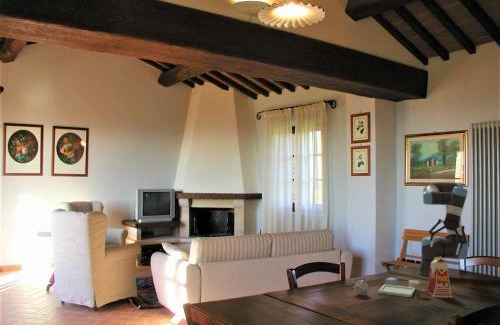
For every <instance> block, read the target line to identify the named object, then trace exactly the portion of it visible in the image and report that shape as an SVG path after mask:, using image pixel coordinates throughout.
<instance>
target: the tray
mask: <svg viewBox="0 0 500 325" xmlns="http://www.w3.org/2000/svg"><path fill="white" fill-rule="evenodd" d="M415 292H416V290H415V288H414V287H409V286H404V285H397V286H396V285H387V284H385V283H384V284H383V285H382V286H381V287H380V288H379V289H378V294H379V295H380V294H381V295H385V296H386V295H387V296H388V295H390V296H394V297H395V296H397V297H404V298H412V297H413V295H414V293H415Z"/></svg>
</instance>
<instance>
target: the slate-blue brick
mask: <svg viewBox="0 0 500 325" xmlns="http://www.w3.org/2000/svg"><path fill="white" fill-rule="evenodd" d="M384 280H385V281H384V284H387V285H396V286H398V278H395V277H387V278H385V279H384Z"/></svg>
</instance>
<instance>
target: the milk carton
mask: <svg viewBox="0 0 500 325" xmlns="http://www.w3.org/2000/svg"><path fill="white" fill-rule="evenodd" d="M441 257H442V256H441ZM441 257H434V258H435V259H434V260H433V261H432V262H431V267H430V273H429V276H428V284H427V285H428V286H427V290H429V295H431V297H433V298H448V297H449V298H453V296H452V289H451V284H450V278H449V271H448V262H447V261H446V260H444V259H443V258H442V259H441Z"/></svg>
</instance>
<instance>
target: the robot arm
mask: <svg viewBox="0 0 500 325" xmlns="http://www.w3.org/2000/svg"><path fill="white" fill-rule="evenodd" d="M422 192H423V193H422V201H423V204H424V205H428V206H429V205H433V206H435V205H437V206H440V205H441V206H445V217H444V220H442V219H441V218H438V220H437V222H436V223H435V224H434V225H433V226H432V227H431V228H430V229H429V230H428V233H429V234H430V236H426V237H425V236H424V237H423V238H422V239H421V244H420V247H421V261H420V264H419V268H418V275H421V276H425V277H429V273H430V267H431V262H432V261H433V260H434V259H435V258H434V257H441V256H442V257H441V259H442V260H443V259H451V260H465V259H467V258H468V257H467V256H468V251H469V240H468V239H467V236H466V233H465V225H462V215H463V214H462V213H463V209H464V208H465V207H464V206H465V203H466V200H467V197H468V192H469V191H468V189H467V188H464V186H463V184H462V183H460V182H432V183H429V184H427V185H426V186H425V187H424V188H423V191H422ZM440 224H443V226H442V227H440V228H438V229H436V228H437V227H438V226H439V225H440ZM435 229H436V230H435ZM444 229H445V230H446V235H445V236H444V238H442V236H437V235H436V234H437V233H439V232H442V231H443V230H444ZM434 230H435V231H434ZM435 235H436V236H435Z"/></svg>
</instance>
